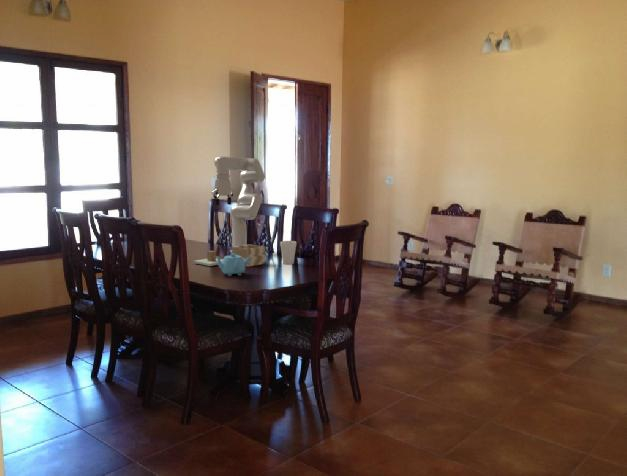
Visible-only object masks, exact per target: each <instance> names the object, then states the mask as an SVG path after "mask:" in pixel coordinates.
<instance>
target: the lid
mask: <svg viewBox="0 0 627 476" xmlns="http://www.w3.org/2000/svg"><path fill="white" fill-rule="evenodd" d="M215 256H217V251H215V250H208V251H207V252H206V257H207V258H204V259H196V260H193V263H194V264H198V265H202V266H207V267H214V266H219V265H218V259H217V257H215ZM223 259H224V258H220V260H221V263H222V261H223Z"/></svg>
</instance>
